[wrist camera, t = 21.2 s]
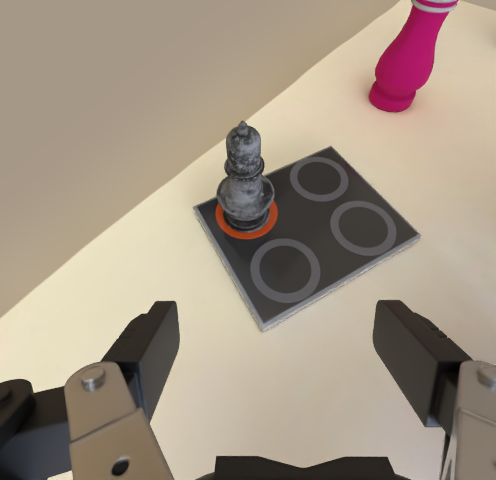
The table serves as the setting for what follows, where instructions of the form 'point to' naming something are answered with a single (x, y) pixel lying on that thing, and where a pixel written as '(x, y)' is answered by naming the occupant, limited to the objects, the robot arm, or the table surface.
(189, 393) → the table surface
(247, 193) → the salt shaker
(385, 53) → the pepper mill
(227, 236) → the hob
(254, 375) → the table surface
